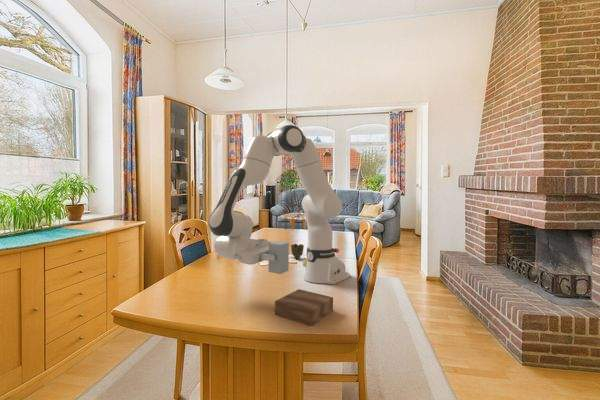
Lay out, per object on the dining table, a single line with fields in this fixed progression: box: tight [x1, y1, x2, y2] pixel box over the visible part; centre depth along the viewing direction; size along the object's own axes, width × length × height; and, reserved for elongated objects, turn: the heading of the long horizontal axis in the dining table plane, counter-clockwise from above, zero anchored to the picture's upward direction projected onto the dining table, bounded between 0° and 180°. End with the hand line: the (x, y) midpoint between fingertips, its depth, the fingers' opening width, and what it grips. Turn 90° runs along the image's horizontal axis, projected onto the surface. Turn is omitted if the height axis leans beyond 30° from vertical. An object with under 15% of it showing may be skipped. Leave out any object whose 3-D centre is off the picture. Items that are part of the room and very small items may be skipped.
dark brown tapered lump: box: [290, 243, 305, 259], centre depth 177 cm, size 8×7×8 cm
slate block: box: [268, 240, 290, 275], centre depth 108 cm, size 5×5×10 cm
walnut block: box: [274, 288, 334, 327], centre depth 103 cm, size 14×14×5 cm
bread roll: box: [302, 258, 307, 267], centre depth 163 cm, size 8×9×4 cm
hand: (280, 255), depth 108 cm, fingers closed on slate block, 5 cm apart
